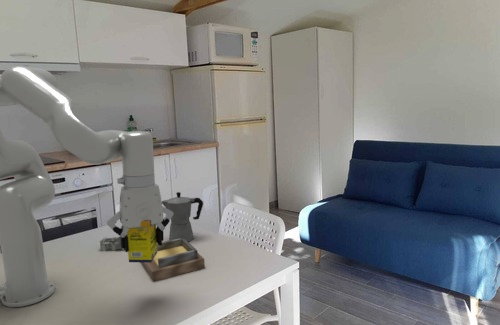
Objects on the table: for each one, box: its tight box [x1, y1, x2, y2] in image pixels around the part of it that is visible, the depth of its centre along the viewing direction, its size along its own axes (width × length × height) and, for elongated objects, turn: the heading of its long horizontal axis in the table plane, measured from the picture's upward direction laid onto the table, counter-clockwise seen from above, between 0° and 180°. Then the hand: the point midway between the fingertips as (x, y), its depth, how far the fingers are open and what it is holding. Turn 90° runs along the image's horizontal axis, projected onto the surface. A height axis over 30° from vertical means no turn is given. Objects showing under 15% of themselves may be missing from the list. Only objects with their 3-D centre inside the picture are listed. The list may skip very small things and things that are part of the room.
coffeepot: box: [161, 191, 204, 243], centre depth 138 cm, size 15×9×18 cm, turn 92°
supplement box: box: [127, 220, 157, 263], centre depth 96 cm, size 6×6×11 cm
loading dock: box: [140, 238, 206, 282], centre depth 118 cm, size 16×16×6 cm
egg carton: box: [99, 234, 127, 252], centre depth 134 cm, size 11×8×4 cm
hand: (142, 246), depth 97 cm, fingers closed on supplement box, 8 cm apart
